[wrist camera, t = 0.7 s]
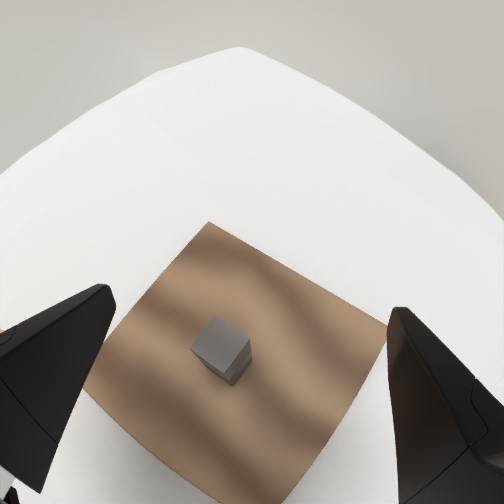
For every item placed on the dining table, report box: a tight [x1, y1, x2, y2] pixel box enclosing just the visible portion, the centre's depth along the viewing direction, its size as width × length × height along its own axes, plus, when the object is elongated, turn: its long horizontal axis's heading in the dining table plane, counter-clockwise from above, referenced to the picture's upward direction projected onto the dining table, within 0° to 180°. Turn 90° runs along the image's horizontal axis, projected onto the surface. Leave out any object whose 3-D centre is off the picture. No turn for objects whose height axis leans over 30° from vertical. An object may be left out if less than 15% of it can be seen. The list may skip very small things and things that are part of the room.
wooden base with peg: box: [83, 222, 387, 504], centre depth 22 cm, size 20×20×8 cm
